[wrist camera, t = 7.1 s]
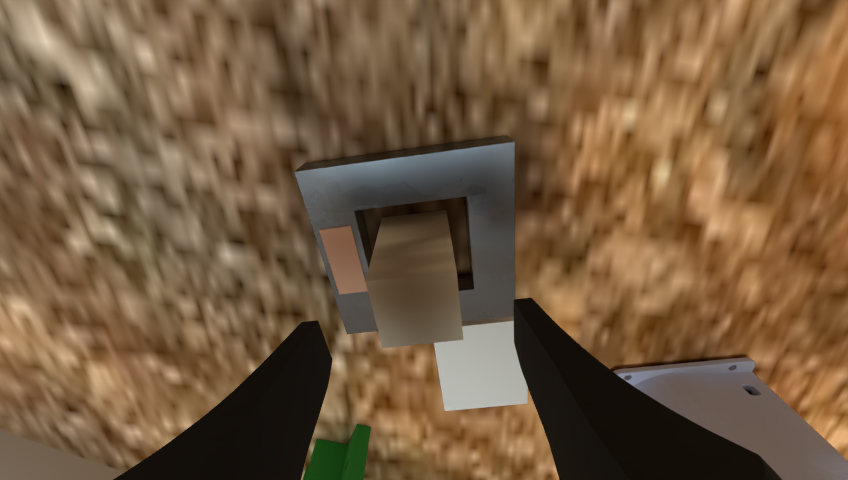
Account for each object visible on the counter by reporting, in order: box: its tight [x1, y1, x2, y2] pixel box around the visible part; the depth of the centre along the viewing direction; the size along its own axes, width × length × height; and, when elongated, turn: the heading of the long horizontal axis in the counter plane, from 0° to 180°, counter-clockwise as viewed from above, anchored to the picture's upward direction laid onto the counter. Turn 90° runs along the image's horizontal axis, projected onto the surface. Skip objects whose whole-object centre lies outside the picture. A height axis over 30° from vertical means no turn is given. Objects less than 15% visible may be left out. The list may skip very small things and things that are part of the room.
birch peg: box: [365, 210, 463, 348], centre depth 16 cm, size 4×4×6 cm
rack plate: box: [295, 136, 515, 334], centre depth 18 cm, size 10×10×2 cm
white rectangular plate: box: [434, 316, 528, 411], centre depth 23 cm, size 6×8×1 cm
